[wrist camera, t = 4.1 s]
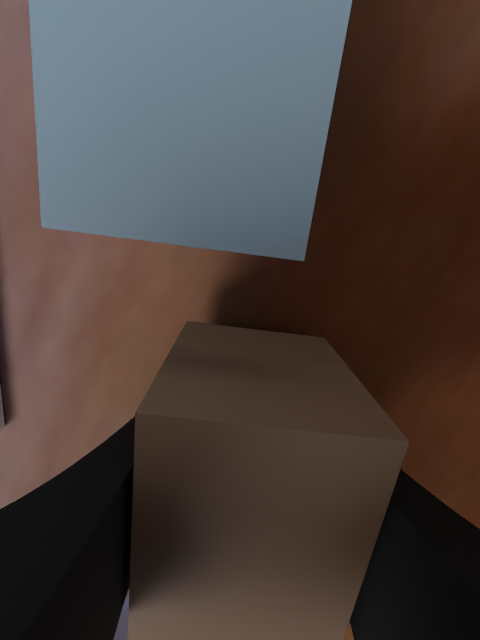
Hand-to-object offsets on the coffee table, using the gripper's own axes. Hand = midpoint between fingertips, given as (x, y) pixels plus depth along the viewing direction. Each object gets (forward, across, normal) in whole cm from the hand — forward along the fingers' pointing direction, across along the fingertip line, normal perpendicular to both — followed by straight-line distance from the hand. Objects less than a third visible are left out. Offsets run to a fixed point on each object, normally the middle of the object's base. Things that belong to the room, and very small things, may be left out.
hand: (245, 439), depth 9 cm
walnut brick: (+1, 0, 0) cm, 1 cm away
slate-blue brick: (+3, +2, -9) cm, 9 cm away
